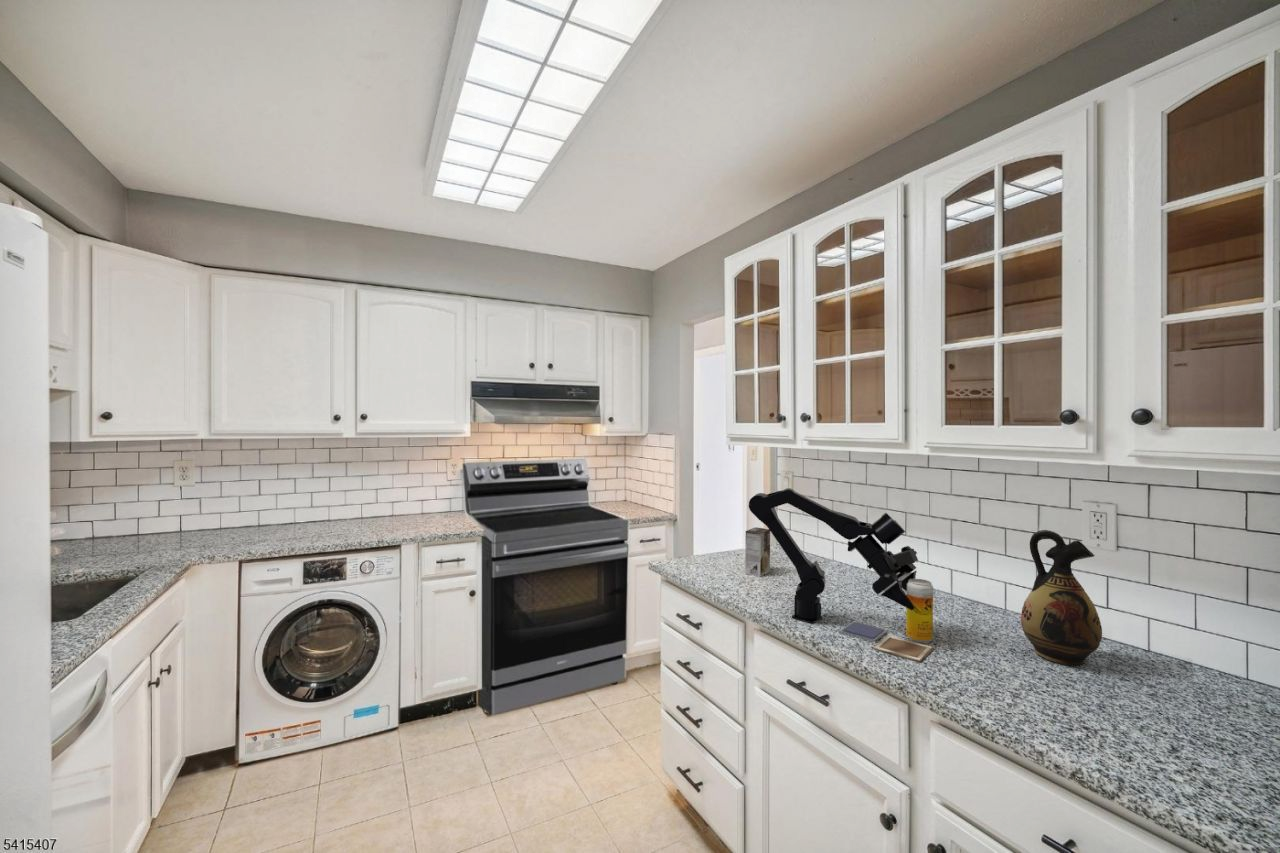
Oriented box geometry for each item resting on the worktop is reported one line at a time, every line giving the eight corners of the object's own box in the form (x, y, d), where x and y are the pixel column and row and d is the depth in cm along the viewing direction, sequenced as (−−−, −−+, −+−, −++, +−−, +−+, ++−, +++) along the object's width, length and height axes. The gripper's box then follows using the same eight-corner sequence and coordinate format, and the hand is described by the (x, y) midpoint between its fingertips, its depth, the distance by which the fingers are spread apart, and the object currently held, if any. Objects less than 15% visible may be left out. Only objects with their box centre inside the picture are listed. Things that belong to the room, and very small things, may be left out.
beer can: (921, 645, 137) (921, 586, 137) (900, 636, 143) (901, 579, 143) (938, 641, 139) (938, 583, 139) (917, 633, 145) (918, 577, 145)
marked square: (872, 649, 134) (872, 647, 134) (887, 636, 142) (887, 634, 142) (920, 662, 127) (920, 660, 127) (933, 648, 135) (934, 646, 135)
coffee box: (754, 569, 208) (755, 527, 208) (770, 571, 205) (771, 529, 205) (744, 574, 201) (744, 530, 201) (760, 577, 197) (761, 532, 197)
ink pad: (839, 633, 145) (840, 629, 145) (853, 624, 151) (853, 620, 151) (874, 642, 138) (874, 638, 138) (887, 633, 145) (887, 629, 145)
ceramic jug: (1104, 657, 131) (1106, 533, 131) (1097, 678, 120) (1099, 542, 120) (1019, 637, 143) (1021, 523, 143) (1006, 654, 132) (1008, 531, 132)
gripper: (885, 542, 138) (932, 595, 130) (908, 532, 152) (952, 579, 144) (853, 568, 143) (898, 620, 136) (879, 556, 157) (920, 602, 150)
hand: (918, 604), depth 141 cm, fingers open, 9 cm apart
